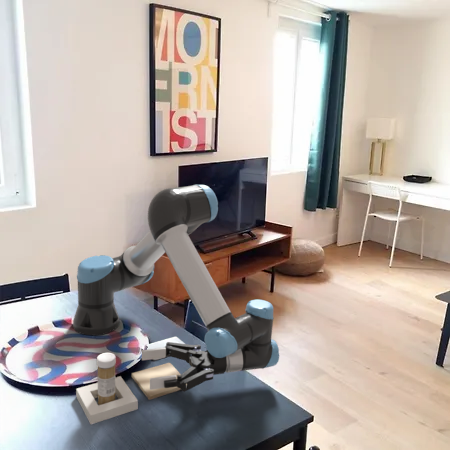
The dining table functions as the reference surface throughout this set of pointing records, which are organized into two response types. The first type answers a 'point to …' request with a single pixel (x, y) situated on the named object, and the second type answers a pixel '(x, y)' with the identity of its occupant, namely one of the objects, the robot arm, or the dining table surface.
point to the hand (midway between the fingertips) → (145, 368)
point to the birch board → (159, 371)
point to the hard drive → (164, 343)
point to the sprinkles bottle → (106, 378)
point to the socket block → (109, 409)
